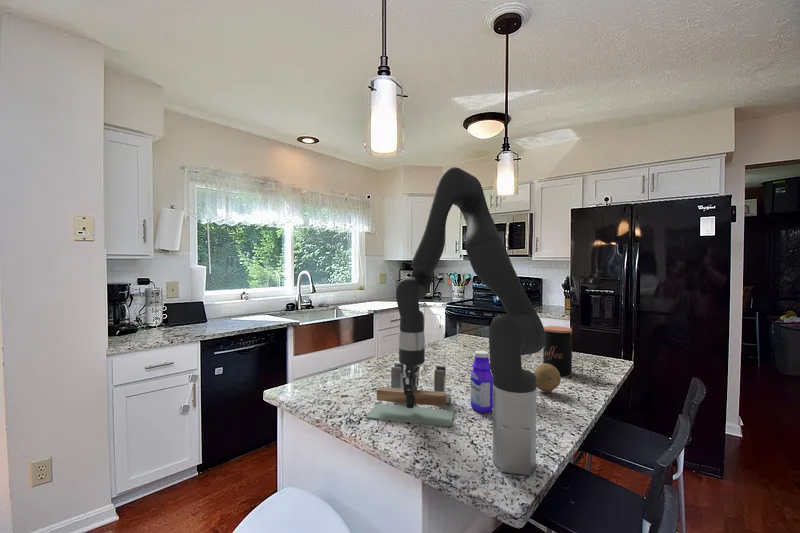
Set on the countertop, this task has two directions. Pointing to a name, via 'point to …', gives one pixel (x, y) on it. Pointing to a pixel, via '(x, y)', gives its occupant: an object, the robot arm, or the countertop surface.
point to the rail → (419, 396)
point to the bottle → (481, 383)
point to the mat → (411, 414)
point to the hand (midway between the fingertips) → (411, 405)
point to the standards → (439, 378)
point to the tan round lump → (547, 377)
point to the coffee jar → (558, 348)
